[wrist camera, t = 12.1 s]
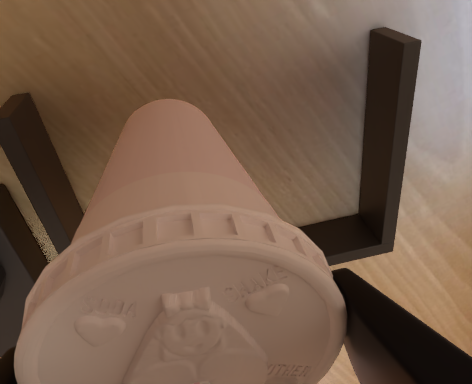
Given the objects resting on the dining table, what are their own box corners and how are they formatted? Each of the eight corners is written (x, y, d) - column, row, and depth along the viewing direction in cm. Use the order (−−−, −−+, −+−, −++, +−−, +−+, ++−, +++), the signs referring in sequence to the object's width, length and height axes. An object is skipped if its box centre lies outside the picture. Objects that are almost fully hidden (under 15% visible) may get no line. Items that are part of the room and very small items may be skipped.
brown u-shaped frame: (11, 95, 17) (-13, 121, 15) (385, 26, 19) (422, 40, 16) (99, 281, 24) (93, 320, 21) (369, 221, 25) (393, 251, 23)
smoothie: (103, 218, 17) (11, 841, 5) (62, 68, 13) (-519, 1012, 2) (249, 199, 18) (441, 693, 6) (247, 54, 14) (702, 592, 3)
